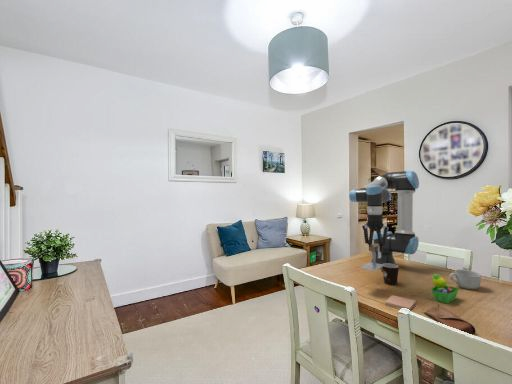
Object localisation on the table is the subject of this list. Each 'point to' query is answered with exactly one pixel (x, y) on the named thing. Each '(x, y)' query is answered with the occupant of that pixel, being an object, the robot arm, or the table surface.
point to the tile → (400, 302)
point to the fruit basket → (443, 290)
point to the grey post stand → (374, 265)
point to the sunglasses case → (449, 319)
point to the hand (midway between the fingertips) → (375, 257)
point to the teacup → (466, 279)
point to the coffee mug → (390, 273)
